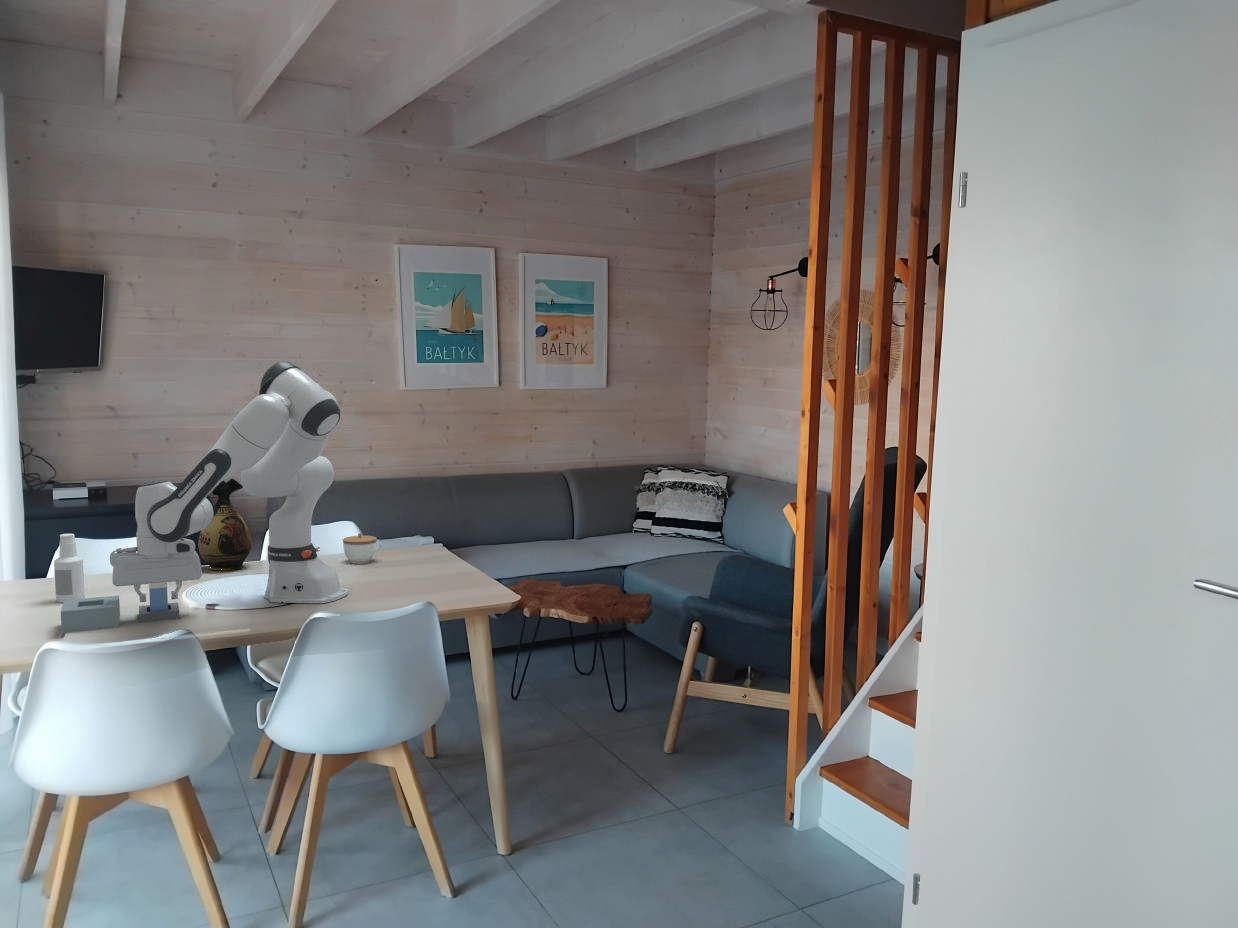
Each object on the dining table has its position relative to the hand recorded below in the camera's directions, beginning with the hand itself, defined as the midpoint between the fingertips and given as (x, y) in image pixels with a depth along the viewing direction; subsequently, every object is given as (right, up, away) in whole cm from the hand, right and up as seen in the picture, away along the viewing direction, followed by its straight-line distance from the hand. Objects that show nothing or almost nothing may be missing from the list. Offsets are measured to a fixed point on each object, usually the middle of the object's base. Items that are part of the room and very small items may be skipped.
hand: (158, 600), depth 240 cm
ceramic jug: (-9, +1, +61) cm, 62 cm away
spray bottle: (-33, -3, +20) cm, 39 cm away
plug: (0, -4, +1) cm, 4 cm away
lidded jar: (+31, +2, +73) cm, 79 cm away
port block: (-13, -6, -6) cm, 16 cm away
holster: (0, -5, +1) cm, 5 cm away
